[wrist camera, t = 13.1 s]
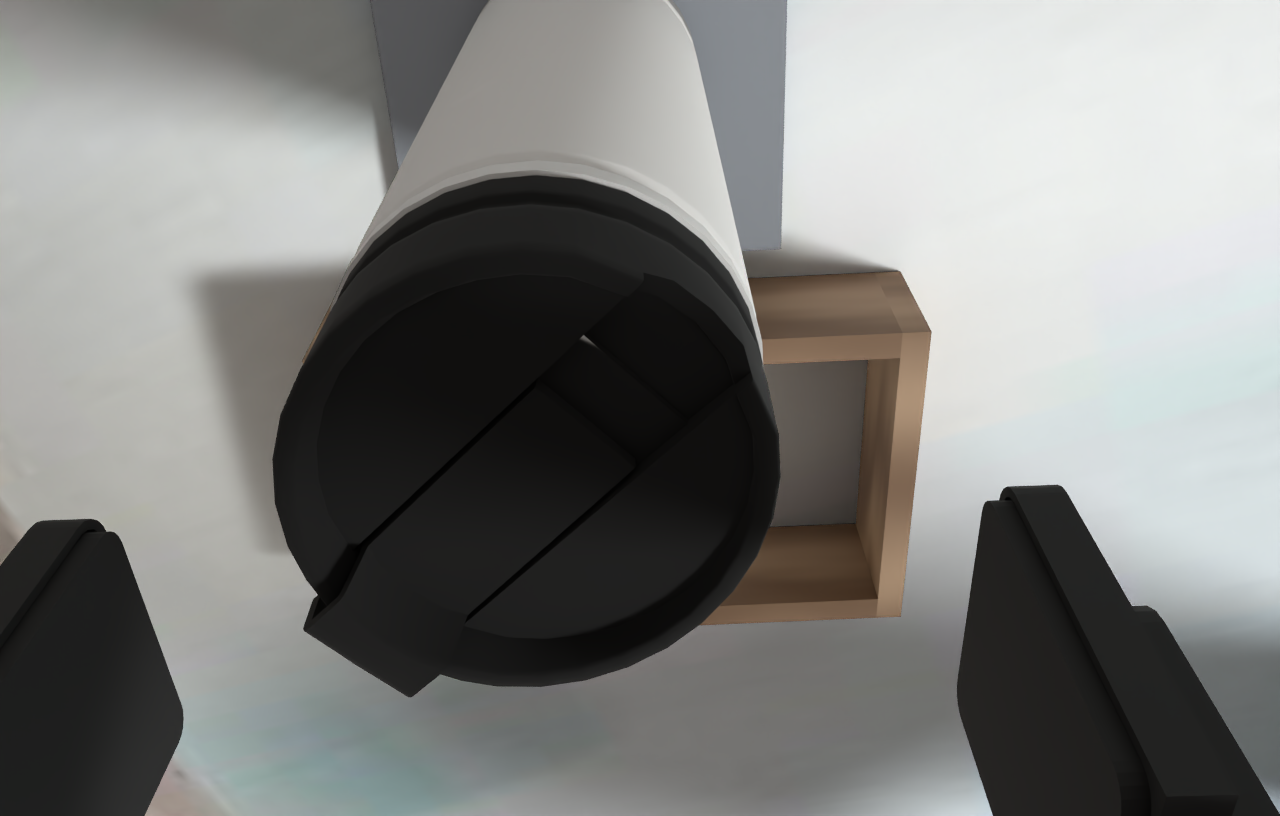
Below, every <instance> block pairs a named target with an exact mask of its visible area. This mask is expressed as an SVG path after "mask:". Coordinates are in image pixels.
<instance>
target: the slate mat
mask: <svg viewBox="0 0 1280 816" xmlns="http://www.w3.org/2000/svg"><path fill="white" fill-rule="evenodd" d="M370 1H371V7H372V13H373V19H374V25H375V31H376V37H377V43H378V49H379V55H380V61H381V67H382V73H383V79H384V85H385V91H386V97H387V103H388V109H389V115H390V121H391V127H392V133H393V139H394V145H395V151H396V156H397V162H398V168H400V166H401V164H402V162H403V160H404V159H405V157H406V155H407V153H408V151H409V149H410V147H411V145H412V143H413V141H414V139H415V137H416V135H417V134H418V132H419V130H420V128H421V126H422V124H423V122H424V120H425V118H426V116H427V114H428V112H429V110H430V109H431V107H432V105H433V103H434V101H435V99H436V97H437V95H438V93H439V91H440V89H441V87H442V85H443V84H444V82H445V80H446V78H447V76H448V74H449V72H450V70H451V68H452V66H453V64H454V62H455V60H456V59H457V57H458V55H459V53H460V51H461V49H462V47H463V45H464V43H465V41H466V39H467V37H468V35H469V34H470V32H471V30H472V28H473V26H474V24H475V22H476V20H477V18H478V16H479V14H480V12H481V10H482V9H483V7H484V6H485V5H486V3H487V2H488V0H370ZM673 2H674V3H675V4H676V5H677V7H678V8H679V9H680V11H681V13H682V15H683V17H684V19H685V21H686V23H687V26H688V28H689V30H690V32H691V36H692V40H693V44H694V47H695V51H696V55H697V59H698V64H699V68H700V72H701V77H702V81H703V86H704V90H705V94H706V99H707V103H708V107H709V112H710V116H711V121H712V125H713V129H714V134H715V138H716V142H717V147H718V151H719V155H720V160H721V164H722V169H723V173H724V177H725V182H726V186H727V190H728V195H729V199H730V203H731V208H732V212H733V217H734V221H735V225H736V230H737V234H738V238H739V243H740V247H741V251H750V250H772V249H781V222H782V182H783V142H784V102H785V63H786V23H787V0H673Z"/></svg>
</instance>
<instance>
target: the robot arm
mask: <svg viewBox="0 0 1280 816" xmlns="http://www.w3.org/2000/svg"><path fill="white" fill-rule="evenodd" d="M957 698H958V707H959V712H960V716H961V720H962V723H963V726H964V729H965V732H966V735H967V738H968V741H969V744H970V747H971V750H972V753H973V756H974V759H975V762H976V765H977V768H978V771H979V774H980V777H981V780H982V783H983V786H984V789H985V793H986V796H987V799H988V802H989V805H990V808H991V811H992V814H993V816H1280V814H1279V812H1278V811H1277V809H1276V807H1275V806H1274V804H1273V802H1272V801H1271V799H1270V797H1269V796H1268V794H1267V792H1266V791H1265V789H1264V787H1263V786H1262V784H1261V782H1260V781H1259V779H1258V777H1257V776H1256V774H1255V772H1254V771H1253V769H1252V767H1251V766H1250V764H1249V762H1248V761H1247V759H1246V757H1245V756H1244V754H1243V752H1242V751H1241V749H1240V747H1239V746H1238V744H1237V742H1236V741H1235V739H1234V737H1233V736H1232V734H1231V732H1230V731H1229V729H1228V727H1227V726H1226V724H1225V722H1224V721H1223V719H1222V717H1221V716H1220V714H1219V712H1218V711H1217V709H1216V707H1215V706H1214V704H1213V702H1212V701H1211V699H1210V697H1209V696H1208V694H1207V692H1206V691H1205V689H1204V687H1203V686H1202V684H1201V682H1200V681H1199V679H1198V677H1197V676H1196V674H1195V672H1194V671H1193V669H1192V667H1191V666H1190V664H1189V662H1188V661H1187V659H1186V657H1185V656H1184V654H1183V652H1182V651H1181V649H1180V647H1179V646H1178V644H1177V642H1176V641H1175V639H1174V637H1173V635H1172V634H1171V632H1170V630H1169V629H1168V627H1167V625H1166V624H1165V622H1164V621H1163V620H1162V618H1161V617H1160V616H1159V614H1158V613H1157V612H1156V611H1155V610H1153V609H1152V608H1150V607H1148V606H1131V604H1130V602H1129V601H1128V599H1127V597H1126V595H1125V594H1124V592H1123V590H1122V588H1121V587H1120V585H1119V583H1118V581H1117V580H1116V578H1115V576H1114V574H1113V573H1112V571H1111V569H1110V567H1109V566H1108V564H1107V562H1106V560H1105V559H1104V557H1103V555H1102V553H1101V552H1100V550H1099V548H1098V546H1097V545H1096V543H1095V541H1094V539H1093V538H1092V536H1091V534H1090V532H1089V531H1088V529H1087V527H1086V525H1085V524H1084V522H1083V520H1082V518H1081V517H1080V515H1079V513H1078V511H1077V510H1076V508H1075V506H1074V504H1073V503H1072V501H1071V499H1070V497H1069V496H1068V494H1067V492H1066V491H1065V490H1064V488H1063V487H1062V486H1059V485H1041V486H1012V487H1006V488H1004V489H1003V491H1002V493H1001V495H1000V499H999V501H987V502H985V504H984V506H983V510H982V516H981V523H980V529H979V536H978V543H977V550H976V557H975V564H974V571H973V578H972V585H971V591H970V598H969V605H968V612H967V619H966V626H965V633H964V640H963V647H962V653H961V660H960V667H959V674H958V682H957ZM182 729H183V709H182V705H181V702H180V699H179V697H178V694H177V691H176V689H175V686H174V683H173V680H172V678H171V675H170V672H169V669H168V667H167V664H166V661H165V659H164V656H163V653H162V650H161V648H160V645H159V642H158V639H157V637H156V634H155V631H154V629H153V626H152V623H151V620H150V618H149V615H148V612H147V609H146V607H145V604H144V601H143V599H142V596H141V593H140V590H139V588H138V585H137V582H136V579H135V577H134V574H133V571H132V569H131V566H130V563H129V560H128V558H127V555H126V552H125V549H124V547H123V544H122V542H121V540H120V538H119V536H118V535H117V534H116V533H114V532H106V530H105V529H104V527H103V525H102V524H101V523H100V522H98V521H97V520H93V519H76V520H48V521H40V522H37V523H35V524H34V525H33V526H32V527H31V528H30V529H29V530H28V531H27V533H26V534H25V535H24V536H23V538H22V539H21V540H20V541H19V543H18V544H17V545H16V546H15V548H14V549H13V550H12V552H11V553H10V554H9V555H8V557H7V558H6V559H5V560H4V562H3V563H2V564H1V565H0V816H145V813H146V811H147V809H148V807H149V805H150V803H151V801H152V798H153V796H154V794H155V792H156V790H157V788H158V786H159V784H160V781H161V779H162V777H163V775H164V773H165V771H166V769H167V766H168V764H169V762H170V760H171V758H172V756H173V754H174V752H175V749H176V747H177V745H178V743H179V740H180V738H181V734H182Z"/></svg>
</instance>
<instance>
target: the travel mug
mask: <svg viewBox="0 0 1280 816" xmlns="http://www.w3.org/2000/svg"><path fill="white" fill-rule="evenodd" d="M272 460H273V477H274V494H275V505H276V508H277V512H278V515H279V518H280V522H281V525H282V528H283V532H284V535H285V539H286V542H287V545H288V548H289V549H290V551H291V553H292V555H293V556H294V558H295V560H296V562H297V564H298V565H299V567H300V569H301V571H302V573H303V574H304V576H305V578H306V580H307V581H308V582H309V584H310V585H311V586H312V587H313V589H314V590H315V591H316V593H317V594H318V596H316V597H315V598H314V599H313V602H312V604H311V607H310V610H309V613H308V616H307V619H306V622H305V624H304V628H303V629H304V631H305V632H307V633H308V634H310V635H311V636H313V637H314V638H316V639H317V640H319V641H320V642H322V643H324V644H325V645H327V646H328V647H330V648H331V649H333V650H334V651H336V652H337V653H339V654H340V655H342V656H343V657H345V658H346V659H348V660H349V661H351V662H352V663H354V664H355V665H357V666H359V667H360V668H362V669H364V670H365V671H367V672H368V673H370V674H372V675H373V676H375V677H377V678H378V679H380V680H382V681H383V682H385V683H386V684H388V685H390V686H391V687H393V688H395V689H396V690H398V691H399V692H401V693H403V694H404V695H406V696H408V697H412V696H414V695H415V694H416V693H417V692H419V691H420V690H421V689H422V688H424V687H425V686H426V685H427V684H429V683H430V682H431V681H432V680H434V679H435V678H436V677H437V676H439V675H440V674H441V675H445V676H448V677H451V678H455V679H458V680H461V681H467V682H473V683H480V684H486V685H492V686H524V687H542V686H549V685H556V684H563V683H570V682H576V681H583V680H588V679H591V678H594V677H598V676H601V675H604V674H607V673H610V672H614V671H617V670H620V669H623V668H627V667H629V666H631V665H633V664H635V663H637V662H639V661H641V660H643V659H645V658H647V657H650V656H652V655H654V654H656V653H658V652H660V651H662V650H664V649H666V648H668V647H669V646H670V645H672V644H673V643H675V642H676V641H677V640H679V639H680V638H682V637H683V636H684V635H686V634H687V633H689V632H690V631H691V630H693V629H694V628H696V627H697V626H698V625H700V624H701V623H703V622H704V621H705V620H706V619H707V618H708V617H709V616H710V615H711V614H712V613H713V612H714V611H715V610H716V609H717V608H718V607H719V605H720V604H721V603H722V602H723V601H724V600H725V599H726V598H727V597H728V596H729V595H730V594H731V593H732V592H733V591H734V590H735V588H736V587H737V585H738V584H739V582H740V581H741V579H742V578H743V577H744V575H745V574H746V572H747V571H748V569H749V568H750V566H751V565H752V563H753V562H754V560H755V559H756V557H757V555H758V553H759V551H760V548H761V546H762V543H763V541H764V538H765V536H766V534H767V531H768V529H769V526H770V524H771V521H772V519H773V515H774V510H775V504H776V499H777V493H778V488H779V482H780V454H779V434H778V430H777V426H776V422H775V417H774V412H773V407H772V403H771V398H770V393H769V389H768V384H767V380H766V376H765V373H764V369H763V347H762V339H761V334H760V330H759V327H758V323H757V319H756V313H755V308H754V304H753V300H752V295H751V291H750V286H749V282H748V278H747V273H746V269H745V265H744V260H743V256H742V251H741V247H740V243H739V238H738V234H737V230H736V225H735V221H734V217H733V212H732V208H731V203H730V199H729V195H728V190H727V186H726V182H725V177H724V173H723V169H722V164H721V160H720V155H719V151H718V147H717V142H716V138H715V134H714V129H713V125H712V121H711V116H710V112H709V107H708V103H707V99H706V94H705V90H704V86H703V81H702V77H701V72H700V68H699V64H698V59H697V55H696V51H695V47H694V44H693V40H692V36H691V32H690V30H689V28H688V26H687V23H686V21H685V19H684V17H683V15H682V13H681V11H680V9H679V8H678V7H677V5H676V4H675V3H674V2H673V0H488V2H487V3H486V5H485V6H484V7H483V9H482V10H481V12H480V14H479V16H478V18H477V20H476V22H475V24H474V26H473V28H472V30H471V32H470V34H469V35H468V37H467V39H466V41H465V43H464V45H463V47H462V49H461V51H460V53H459V55H458V57H457V59H456V60H455V62H454V64H453V66H452V68H451V70H450V72H449V74H448V76H447V78H446V80H445V82H444V84H443V85H442V87H441V89H440V91H439V93H438V95H437V97H436V99H435V101H434V103H433V105H432V107H431V109H430V110H429V112H428V114H427V116H426V118H425V120H424V122H423V124H422V126H421V128H420V130H419V132H418V134H417V135H416V137H415V139H414V141H413V143H412V145H411V147H410V149H409V151H408V153H407V155H406V157H405V159H404V160H403V162H402V164H401V166H400V168H399V170H398V172H397V174H396V176H395V178H394V180H393V182H392V184H391V185H390V187H389V189H388V191H387V193H386V195H385V197H384V199H383V201H382V203H381V205H380V207H379V209H378V210H377V212H376V214H375V216H374V218H373V220H372V222H371V224H370V226H369V228H368V230H367V232H366V234H365V235H364V237H363V239H362V241H361V243H360V245H359V247H358V250H357V252H356V254H355V256H354V257H353V259H352V260H351V262H350V264H349V266H348V268H347V270H346V272H345V275H344V277H343V279H342V282H341V284H340V286H339V289H338V291H337V293H336V296H335V298H334V300H333V302H332V305H331V309H330V313H329V315H328V317H327V319H326V321H325V323H324V325H323V327H322V328H321V330H320V332H319V334H318V336H317V338H316V340H315V342H314V344H313V346H312V348H311V350H310V352H309V354H308V356H307V358H306V360H305V362H304V364H303V366H302V368H301V370H300V372H299V374H298V376H297V378H296V381H295V383H294V385H293V387H292V390H291V392H290V394H289V397H288V399H287V401H286V404H285V406H284V408H283V410H282V413H281V415H280V420H279V426H278V432H277V437H276V443H275V448H274V454H273V459H272Z"/></svg>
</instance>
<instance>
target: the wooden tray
mask: <svg viewBox="0 0 1280 816" xmlns="http://www.w3.org/2000/svg"><path fill="white" fill-rule="evenodd" d="M748 282H749V286H750V291H751V295H752V300H753V304H754V308H755V313H756V319H757V323H758V327H759V330H760V334H761V339H762V347H763V364H783V363H805V362H827V361H848V360H868V365H867V379H866V392H865V405H864V419H863V432H862V445H861V459H860V472H859V485H858V499H857V512H856V524H833V525H810V526H787V527H769V529H768V531H767V534H766V536H765V538H764V541H763V543H762V546H761V548H760V551H759V553H758V555H757V557H756V559H755V560H754V562H753V563H752V565H751V566H750V568H749V569H748V571H747V572H746V574H745V575H744V577H743V578H742V579H741V581H740V582H739V584H738V585H737V587H736V588H735V590H734V591H733V592H732V593H731V594H730V595H729V596H728V597H727V598H726V599H725V600H724V601H723V602H722V603H721V604H720V605H719V607H718V608H717V609H716V610H715V611H714V612H713V613H712V614H711V615H710V616H709V617H708V618H707V619H706V620H705V621H704V622H703V623H701V624H700V625H715V624H738V623H761V622H785V621H808V620H831V619H855V618H878V617H901V608H902V599H903V589H904V580H905V571H906V562H907V553H908V543H909V534H910V525H911V516H912V507H913V497H914V488H915V479H916V470H917V460H918V451H919V442H920V433H921V424H922V414H923V405H924V396H925V387H926V378H927V368H928V359H929V350H930V341H931V330H930V328H929V326H928V324H927V322H926V320H925V318H924V316H923V314H922V312H921V310H920V309H919V307H918V305H917V303H916V301H915V299H914V297H913V295H912V293H911V291H910V289H909V287H908V285H907V283H906V281H905V279H904V278H903V276H902V274H901V272H900V271H897V272H876V273H855V274H833V275H812V276H790V277H769V278H748ZM331 305H332V304H331ZM331 305H330V307H329V309H328V311H327V313H326V315H325V317H324V319H323V321H322V323H321V325H320V327H319V329H318V331H317V333H316V335H315V337H314V339H313V341H312V343H311V345H310V347H309V349H308V351H307V352H306V354H305V356H304V358H303V360H302V362H303V364H304V362H305V360H306V358H307V356H308V354H309V352H310V350H311V348H312V346H313V344H314V342H315V340H316V338H317V336H318V334H319V332H320V330H321V328H322V327H323V325H324V323H325V321H326V319H327V317H328V315H329V313H330V309H331Z"/></svg>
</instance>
